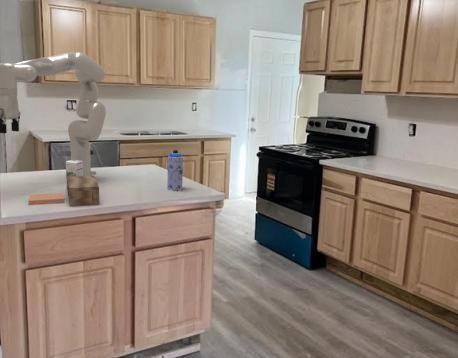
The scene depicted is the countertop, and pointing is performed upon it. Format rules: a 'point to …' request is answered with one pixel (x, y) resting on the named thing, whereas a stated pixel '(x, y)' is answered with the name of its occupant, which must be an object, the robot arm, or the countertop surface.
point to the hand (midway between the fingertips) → (9, 132)
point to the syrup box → (74, 168)
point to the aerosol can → (175, 171)
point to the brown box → (83, 190)
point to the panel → (46, 198)
